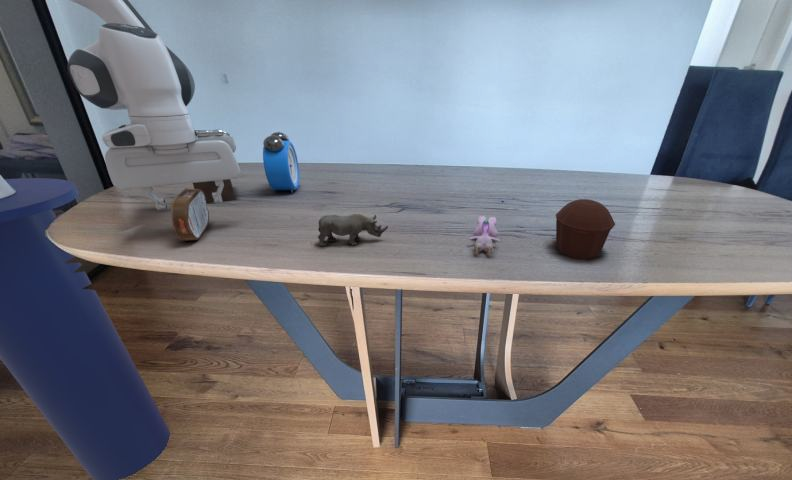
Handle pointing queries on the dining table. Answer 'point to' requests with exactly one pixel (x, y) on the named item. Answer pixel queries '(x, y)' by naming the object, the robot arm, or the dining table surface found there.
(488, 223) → the rabbit figure
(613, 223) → the muffin
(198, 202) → the tin
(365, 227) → the rhino figurine
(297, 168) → the alarm clock
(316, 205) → the dining table surface
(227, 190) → the walnut block
